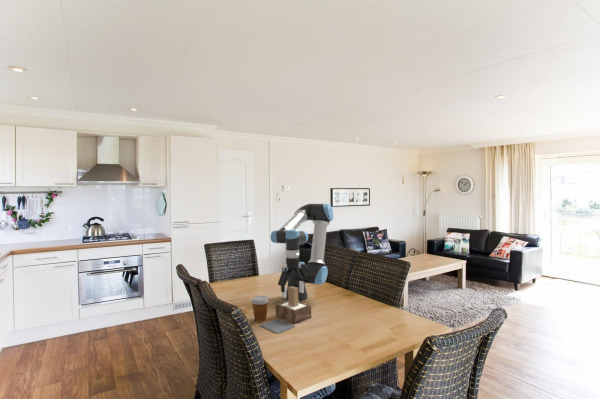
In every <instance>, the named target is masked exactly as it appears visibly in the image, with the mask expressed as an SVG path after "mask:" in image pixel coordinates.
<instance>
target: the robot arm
mask: <svg viewBox="0 0 600 399" xmlns="http://www.w3.org/2000/svg"><path fill="white" fill-rule="evenodd" d="M306 221H307V222H308V221H312V224H314V226H313V232H312V233H313V234H312V235H313V236H312V242H311V252H310V258H309V261H307V264H305V262H304V261H300V245H304V244H305V243H307V242H308V240H309V234H308V233H307V232H306V231H304V230H299V229H298V228H299V227H300V226H301V225H302V224H304V223H305V222H306ZM332 221H334V210H333V207H332V205H331V204H329V203H308V204H305V205H303V206H300V207H299V208H297V210H295V211H294V213H293V215H292V217H291V218H289V219H288V221H286V222H285V223H284V225H282V226H281V228H279V229H278V230H277V229H275V230H272V231H271V233H270V241H271V243H274V244H285V264H286V267H284V266H282V267H281V268H282V269H281V273H280V276H279V280H278V281H277V282H278V283H277V285H278V286H280V292H281V298H283V299H285V300H286V301H288V287H291V286H294V287H297V288H298V301H300V302H302V301H305V300H307V299H308V296H309V294H308V291H307V288H306V284H313V285H317V286H318V285H324V284H325V283H326V280H327V279H328V278H327V277H328V274H329V270H328V266H326V263H325V261H324V258H325V249H326V240H327V228H328V226H329V225H330V223H331V222H332ZM286 285H287V286H286Z"/></svg>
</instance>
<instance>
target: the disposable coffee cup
mask: <svg viewBox="0 0 600 399" xmlns="http://www.w3.org/2000/svg"><path fill="white" fill-rule="evenodd" d="M269 299H270V298H269V297H268V296H265V295H257V296H253V297H252V299H251V303H252V310H253V318H254V322H256V323H257V322H258V323H261V322H265V321H266V320H267V315H268V314H267V313H268V308H269V307H268V306H269Z"/></svg>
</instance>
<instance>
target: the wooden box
mask: <svg viewBox="0 0 600 399" xmlns="http://www.w3.org/2000/svg"><path fill="white" fill-rule="evenodd" d="M287 302H288V300H285V301H282V302H279V303H275V317H276V318H277V319H280V320H281V319H282V321H285V322H289V323H290V324H291V323H292V324H294V325H296V324H299V323H301V322H303V321H306V320H309V319H311V318H312V305H311V304H309V303H305V302H304V301H298V303H300V304H303V305H306V306H305V307H302V308H299V309H296V310H294V309H291V308H288V307H285V306H282V305H281V304H284V303H287Z"/></svg>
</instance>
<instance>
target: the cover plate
mask: <svg viewBox="0 0 600 399" xmlns="http://www.w3.org/2000/svg"><path fill="white" fill-rule="evenodd" d="M287 287H288V286H287ZM287 301H288V302H287V303H284V304H281V305H282V306H285V307H288V308H291V309H294V310H296V309H299V308H302V307H305V306H306V305H303V304H300V303H298V288H297V287H294V286H291V287H288V300H287Z"/></svg>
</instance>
